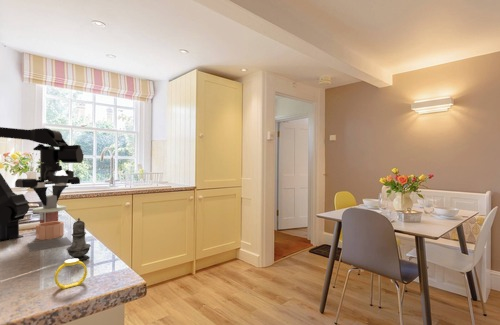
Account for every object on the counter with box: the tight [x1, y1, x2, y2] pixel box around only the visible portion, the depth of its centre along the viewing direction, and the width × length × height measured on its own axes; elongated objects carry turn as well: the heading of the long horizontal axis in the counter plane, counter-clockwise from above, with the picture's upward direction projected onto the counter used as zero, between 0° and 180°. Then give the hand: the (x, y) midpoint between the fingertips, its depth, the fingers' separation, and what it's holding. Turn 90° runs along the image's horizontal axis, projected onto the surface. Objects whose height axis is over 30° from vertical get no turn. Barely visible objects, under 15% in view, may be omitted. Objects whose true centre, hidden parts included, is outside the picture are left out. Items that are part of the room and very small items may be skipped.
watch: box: [54, 258, 88, 290], centre depth 59 cm, size 6×3×6 cm, turn 130°
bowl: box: [35, 220, 65, 241], centre depth 97 cm, size 8×8×5 cm
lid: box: [32, 194, 67, 214], centre depth 97 cm, size 10×10×5 cm
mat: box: [27, 236, 73, 253], centre depth 88 cm, size 11×11×1 cm
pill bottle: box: [39, 203, 59, 224], centre depth 110 cm, size 6×6×11 cm
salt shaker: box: [66, 217, 92, 263], centre depth 75 cm, size 6×6×12 cm
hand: (49, 204), depth 97 cm, fingers closed on lid, 3 cm apart
